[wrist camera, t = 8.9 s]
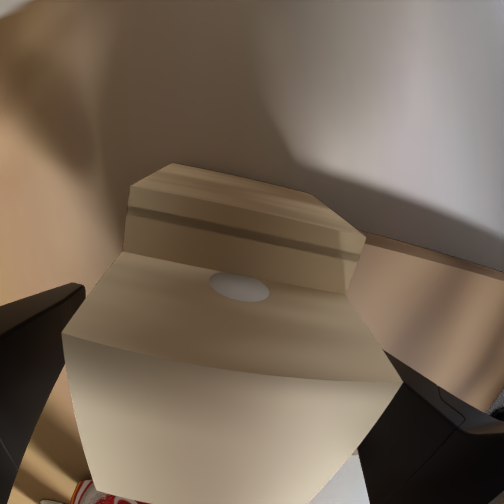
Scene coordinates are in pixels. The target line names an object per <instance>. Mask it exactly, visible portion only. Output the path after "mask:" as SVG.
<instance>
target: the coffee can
mask: <svg viewBox="0 0 504 504" xmlns="http://www.w3.org/2000/svg"><path fill="white" fill-rule="evenodd" d="M40 504H63V503H59V502H56V501H52V500H42V501H41V502H40Z"/></svg>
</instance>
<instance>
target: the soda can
mask: <svg viewBox="0 0 504 504" xmlns="http://www.w3.org/2000/svg"><path fill="white" fill-rule="evenodd" d="M70 504H151V503H146V502H141V501H136V500H132V499H127V498H123V497H119V496H115V495H111V494H107V493H104V492H100V491H97V490H96V488H95V485H94V482H93V479H91V480H84V481H80V482H79V483H78V484H77V486H76V488H75V491H74V493H73V495H72V498H71V501H70Z"/></svg>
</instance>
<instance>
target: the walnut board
mask: <svg viewBox="0 0 504 504" xmlns="http://www.w3.org/2000/svg"><path fill="white" fill-rule="evenodd" d="M358 231H359V232H360V233H361V234H363V235H364V236H365V237H366V240H365V243H364V246H363V249H362V252H361V254H360V257H359V260H358V263H357V266H356V268H355V271H354V274H353V276H352V279H351V282H350V284H349V287H348V289H347V292H346V296H347V297H348V299H349V300H350V302H351V303H352V304H353V306H354V307H355V309H356V310H357V312H358V313H359V315H360V316H361V318H362V319H363V321H364V322H365V324H366V325H367V327H368V328H369V330H370V331H371V333H372V334H373V336H374V337H375V339H376V340H377V342H378V343H379V345H380V347H381V348H382V349H383V350H385V351H386V352H388V353H389V354H391V355H392V356H394V357H395V358H397V359H398V360H400V361H402V362H403V363H405V364H406V365H408V366H409V367H411V368H412V369H414V370H415V371H417V372H418V373H420V374H421V375H423V376H425V377H426V378H428V379H429V380H431V381H432V382H434V383H435V384H437V386H440V387H442V388H443V389H445V390H446V391H448V392H449V393H451V394H453V395H454V396H456V397H457V398H459V399H461V400H463V401H464V402H466V403H468V404H469V405H471V406H473V407H475V408H477V409H478V410H480V411H482V412H484V413H486V412H487V411H488V409H489V408H490V407H491V405H492V404H493V403H494V401H495V400H496V399H497V397H498V396H499V394H500V393H501V392H502V390H503V389H504V273H503V272H500V271H497V270H494V269H491V268H488V267H485V266H481V265H478V264H475V263H472V262H469V261H465V260H462V259H459V258H456V257H452V256H449V255H446V254H442V253H439V252H436V251H432V250H429V249H425V248H422V247H418V246H415V245H411V244H408V243H404V242H401V241H397V240H394V239H390V238H386V237H383V236H379V235H375V234H371V233H368V232H364V231H360V230H358ZM352 455H358V451H357V448H356V450H355V451H354V452H353V453H352Z"/></svg>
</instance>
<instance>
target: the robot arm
mask: <svg viewBox="0 0 504 504" xmlns="http://www.w3.org/2000/svg"><path fill="white" fill-rule="evenodd" d="M85 299H86V290H85V287H84V285H81V284H77V283H69V284H66V285H63V286H60V287H57V288H54V289H50V290H47V291H44V292H41V293H38V294H35V295H32V296H29V297H26V298H23V299H20V300H17V301H14V302H11V303H8V304H5V305H3V306H0V504H7V502H8V499H9V496H10V493H11V490H12V487H13V484H14V481H15V478H16V475H17V472H18V470H17V469H19V466H20V464H21V461H22V458H23V456H24V453H25V451H26V448H27V446H28V443H29V441H30V438H31V436H32V433H33V431H34V429H35V426H36V424H37V422H38V419H39V417H40V415H41V413H42V410H43V408H44V406H45V404H46V402H47V400H48V397H49V395H50V393H51V391H52V389H53V387H54V385H55V383H56V381H57V379H58V377H59V375H60V373H61V371H62V369H63V367H64V365H65V358H64V351H63V342H62V331H63V330H64V328H65V327H66V325H67V324H68V322H69V321H70V320H71V318H72V317H73V315H74V314H75V313H76V311H77V310H78V308H79V307H80V306H81V304H82V303H83V302H84V300H85ZM382 350H383V349H382ZM383 351H384V353H385V354H386V356H387V357H388V359H389V360H390V362H391V364H392V365H393V367H394V368H395V370H396V371H397V373H398V375H399V376H400V378H401V379H402V381H403V383H402V385H401V386H400V388H399V389H398V391H397V393H396V394H395V396H394V397H393V399H392V400H391V402H390V403H389V405H388V406H387V408H386V409H385V410H384V412H383V413H382V415H381V416H380V418H379V419H378V420H377V422H376V423H375V425H374V426H373V427H372V429H371V430H370V431H369V433H368V434H367V435H366V437H365V438H364V439H363V441H362V442H361V443H360V444H359V446H358V447H357V451H358V455H359V459H360V463H361V467H362V471H363V475H364V479H365V484H366V488H367V492H368V497H369V501H370V504H504V408H503V409H499V410H497V411H495V412H494V413H493V414H492V416H489V415H487V414H486V413H484V412H482V411H480V410H478V409H477V408H475V407H473V406H471V405H469V404H468V403H466V402H464V401H463V400H461V399H459V398H457V397H456V396H454V395H453V394H451V393H449V392H448V391H446V390H445V389H443V388H442V387H440V386H437V384H435V383H434V382H432V381H431V380H429V379H428V378H426V377H425V376H423V375H421V374H420V373H418V372H417V371H415V370H414V369H412V368H411V367H409V366H408V365H406V364H405V363H403V362H402V361H400V360H398V359H397V358H395V357H394V356H392V355H391V354H389V353H388V352H386V351H385V350H383Z"/></svg>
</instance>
